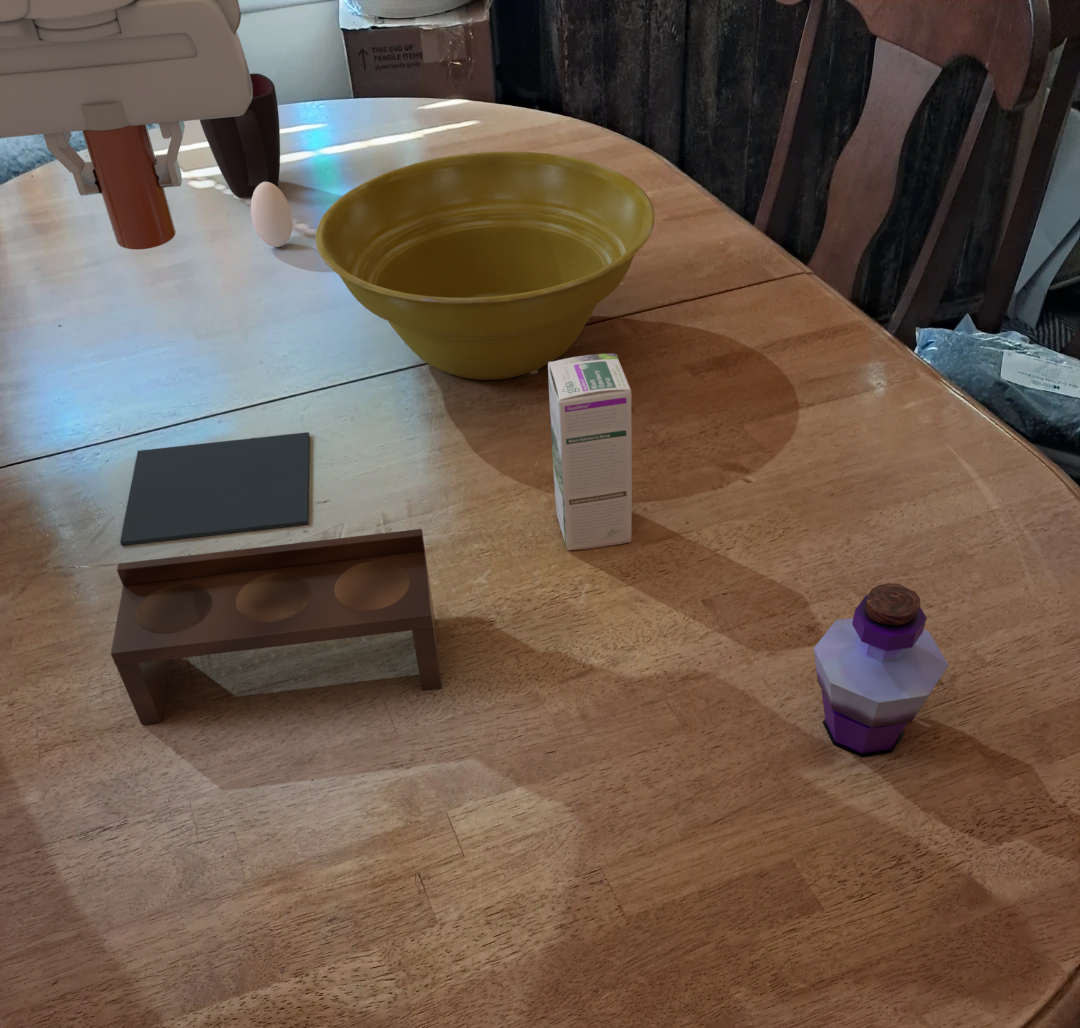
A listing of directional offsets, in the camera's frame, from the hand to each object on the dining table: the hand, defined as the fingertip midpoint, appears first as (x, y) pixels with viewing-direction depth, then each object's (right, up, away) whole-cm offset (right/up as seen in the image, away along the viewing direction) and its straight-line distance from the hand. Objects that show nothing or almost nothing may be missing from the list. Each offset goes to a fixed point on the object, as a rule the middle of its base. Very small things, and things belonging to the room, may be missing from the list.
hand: (131, 188), depth 84 cm
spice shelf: (+11, -35, +3) cm, 37 cm away
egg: (-1, +18, +53) cm, 56 cm away
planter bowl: (+25, 0, +35) cm, 43 cm away
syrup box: (+34, -23, +13) cm, 43 cm away
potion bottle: (+53, -40, -4) cm, 66 cm away
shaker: (0, -2, +3) cm, 4 cm away
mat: (+1, -18, +19) cm, 27 cm away
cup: (-6, +29, +64) cm, 70 cm away
